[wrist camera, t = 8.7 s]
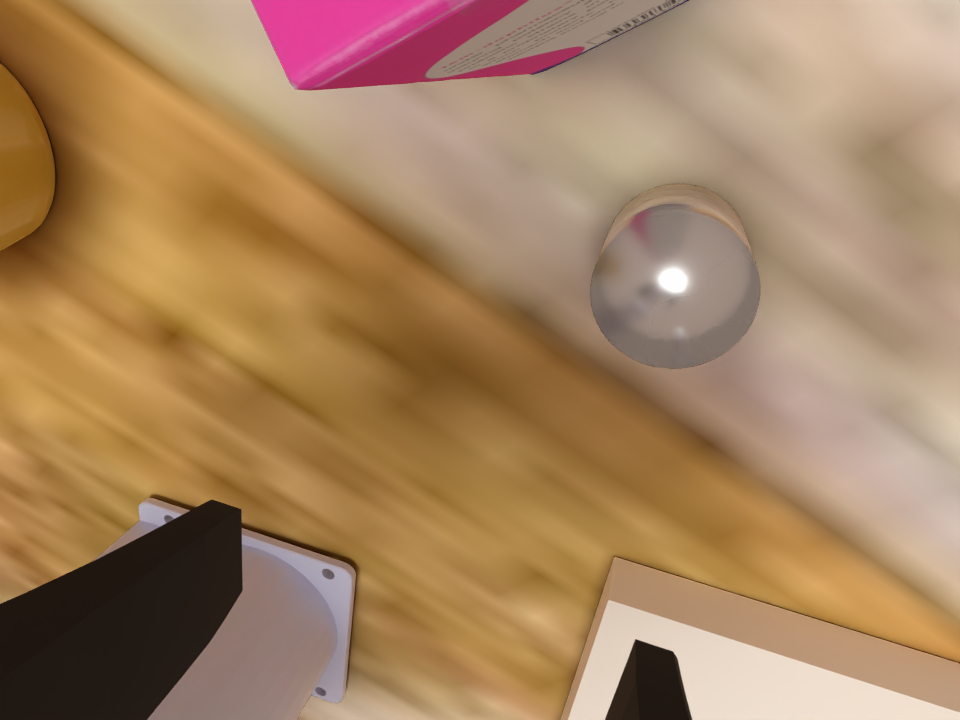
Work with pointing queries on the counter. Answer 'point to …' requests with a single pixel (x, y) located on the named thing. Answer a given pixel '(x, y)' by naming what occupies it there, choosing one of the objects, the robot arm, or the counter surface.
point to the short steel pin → (675, 278)
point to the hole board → (753, 657)
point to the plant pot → (22, 163)
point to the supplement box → (438, 37)
